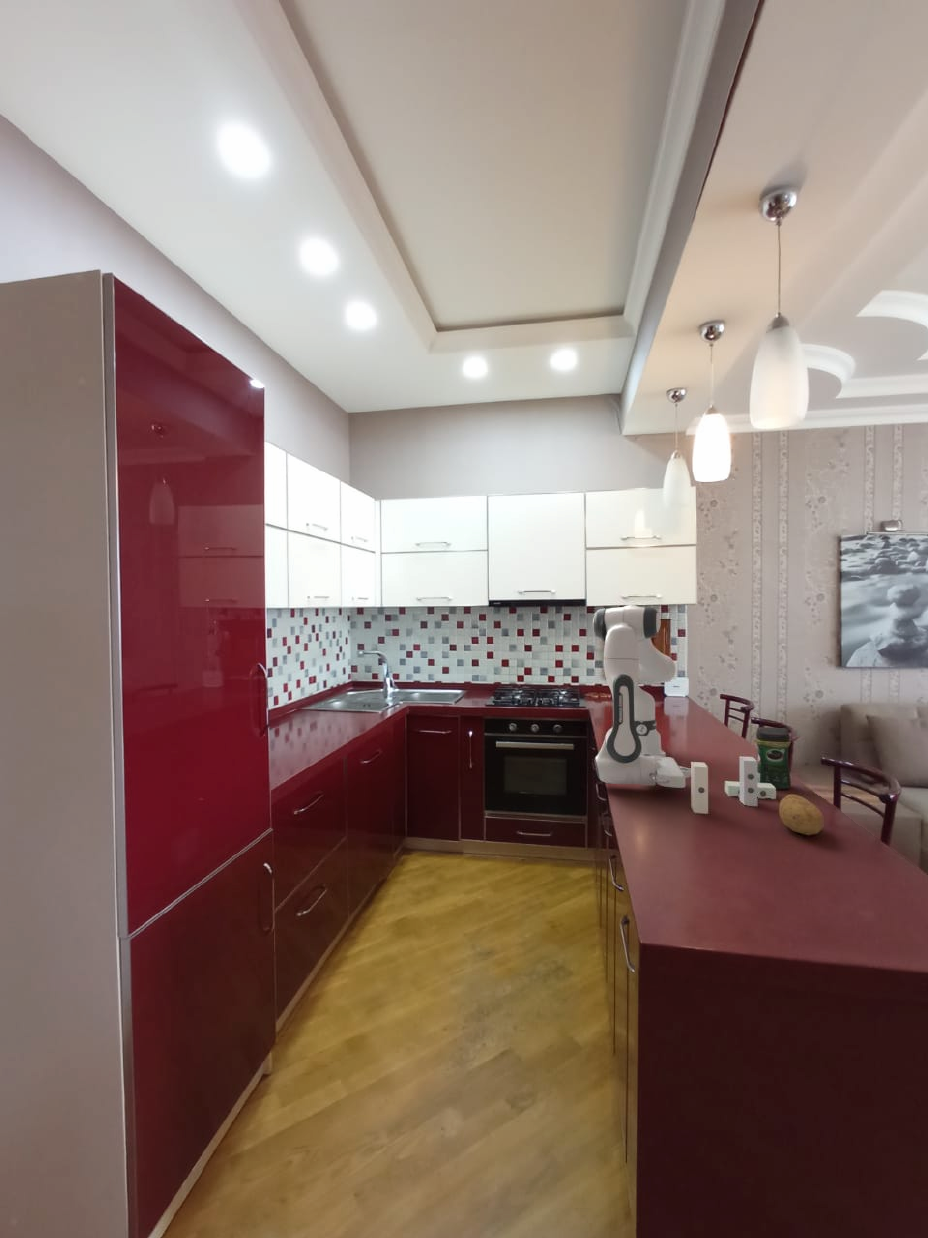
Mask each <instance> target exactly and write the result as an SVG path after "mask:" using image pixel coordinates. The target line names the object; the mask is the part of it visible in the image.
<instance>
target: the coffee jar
mask: <svg viewBox="0 0 928 1238" xmlns="http://www.w3.org/2000/svg"><path fill="white" fill-rule="evenodd" d="M755 732H756V733H755V743H756V746H757V760H756V761H757V783H770V784H772V785H773V786H774V787H775V788H776V790H788V789H791V787H792V782H791V781H792V779H791V772H790V767H789V765H790V764H789V752H788V751H789V747H790V746H791V739H790V734H789V731H788V729H786V728H785V727H784V728H783V727H782V728H781V727H770V726H769V727H768V726H767V727H765V726H762V727H761V726H758V727H757V728H756V731H755Z"/></svg>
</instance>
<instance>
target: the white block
mask: <svg viewBox="0 0 928 1238" xmlns="http://www.w3.org/2000/svg"><path fill="white" fill-rule="evenodd" d="M724 792H725V793H726V795H727V797H731V796H738V797H737V798H740V781H728V780H724ZM757 797H758V798H757V799H765V798H771V799H770V800H776V799H777V789H776V788H775V787H774V786H773V785H772V784H770V783H757Z"/></svg>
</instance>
